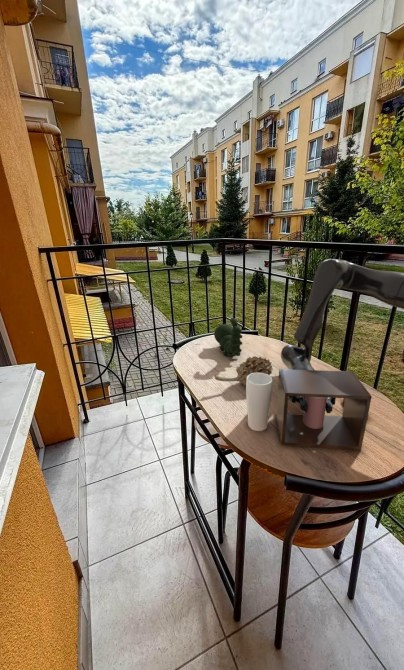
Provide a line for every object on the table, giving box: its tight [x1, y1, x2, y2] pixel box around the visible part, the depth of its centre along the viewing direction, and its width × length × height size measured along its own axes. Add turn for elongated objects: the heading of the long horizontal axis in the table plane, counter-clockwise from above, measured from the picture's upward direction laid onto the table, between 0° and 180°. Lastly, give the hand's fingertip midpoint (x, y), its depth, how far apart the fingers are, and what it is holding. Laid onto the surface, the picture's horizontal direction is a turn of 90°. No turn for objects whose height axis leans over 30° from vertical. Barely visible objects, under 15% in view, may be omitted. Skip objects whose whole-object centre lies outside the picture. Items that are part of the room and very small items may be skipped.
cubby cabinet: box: [275, 368, 373, 452], centre depth 72 cm, size 19×12×15 cm, turn 82°
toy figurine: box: [213, 317, 244, 358], centre depth 124 cm, size 9×19×25 cm
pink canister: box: [303, 397, 327, 429], centre depth 75 cm, size 5×5×10 cm
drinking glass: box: [245, 373, 273, 432], centre depth 75 cm, size 7×7×15 cm
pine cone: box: [213, 355, 273, 386], centre depth 97 cm, size 22×10×10 cm, turn 113°
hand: (317, 409), depth 72 cm, fingers closed on pink canister, 5 cm apart
